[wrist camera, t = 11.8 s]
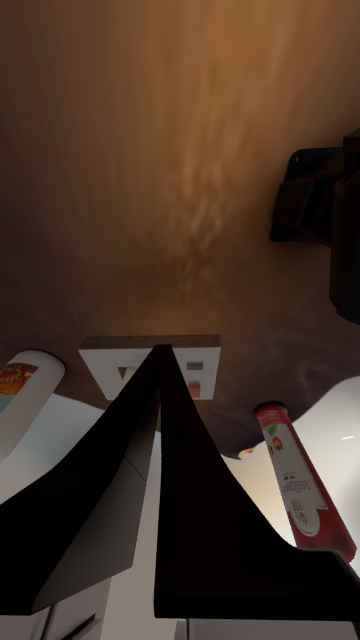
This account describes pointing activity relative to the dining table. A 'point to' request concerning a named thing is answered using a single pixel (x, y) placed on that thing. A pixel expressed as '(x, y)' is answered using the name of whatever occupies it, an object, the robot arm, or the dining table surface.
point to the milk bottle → (25, 394)
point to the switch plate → (121, 352)
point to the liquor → (302, 487)
